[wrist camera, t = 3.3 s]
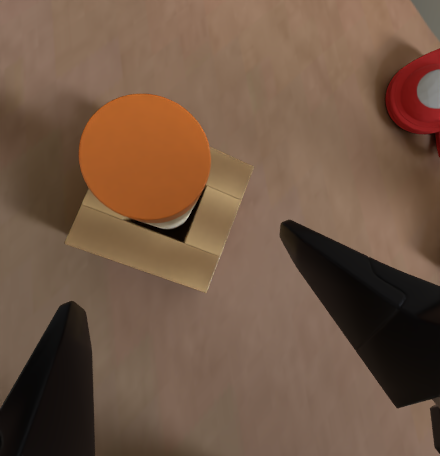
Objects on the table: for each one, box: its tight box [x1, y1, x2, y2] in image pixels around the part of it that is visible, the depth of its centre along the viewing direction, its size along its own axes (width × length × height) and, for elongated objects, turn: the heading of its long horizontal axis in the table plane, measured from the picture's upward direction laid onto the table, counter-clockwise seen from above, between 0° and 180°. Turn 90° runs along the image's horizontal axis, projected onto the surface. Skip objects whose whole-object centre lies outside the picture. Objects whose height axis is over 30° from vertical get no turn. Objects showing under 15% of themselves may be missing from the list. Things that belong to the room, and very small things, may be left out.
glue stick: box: [79, 94, 211, 230], centre depth 14 cm, size 4×4×14 cm
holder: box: [65, 147, 254, 293], centre depth 19 cm, size 11×11×4 cm
